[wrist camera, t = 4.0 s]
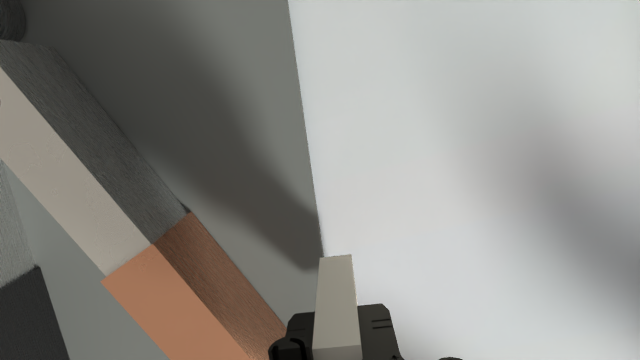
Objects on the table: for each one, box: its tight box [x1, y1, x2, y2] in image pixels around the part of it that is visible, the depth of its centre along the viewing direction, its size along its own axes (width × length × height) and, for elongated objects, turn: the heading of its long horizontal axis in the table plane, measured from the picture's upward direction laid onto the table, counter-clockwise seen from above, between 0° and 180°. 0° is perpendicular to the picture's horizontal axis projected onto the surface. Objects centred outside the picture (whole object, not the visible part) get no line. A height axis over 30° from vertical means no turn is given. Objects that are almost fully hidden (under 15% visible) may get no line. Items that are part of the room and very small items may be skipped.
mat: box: [2, 0, 323, 360], centre depth 19 cm, size 28×19×1 cm
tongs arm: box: [0, 0, 287, 360], centre depth 17 cm, size 22×3×5 cm, turn 36°
